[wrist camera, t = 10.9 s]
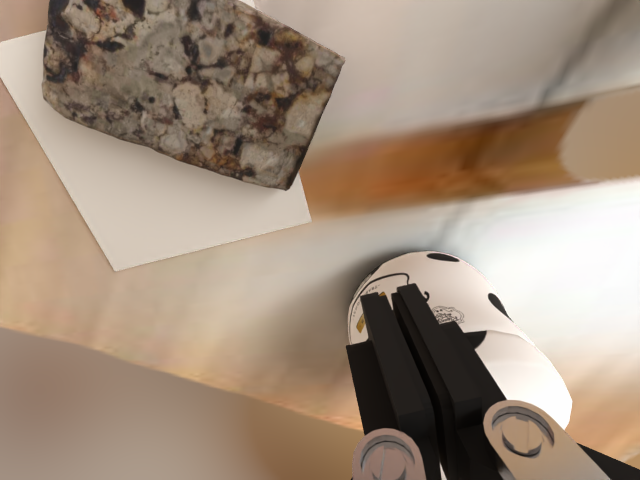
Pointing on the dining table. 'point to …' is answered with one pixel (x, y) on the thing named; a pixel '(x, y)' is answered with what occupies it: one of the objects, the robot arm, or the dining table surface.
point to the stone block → (191, 81)
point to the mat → (141, 180)
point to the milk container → (470, 325)
